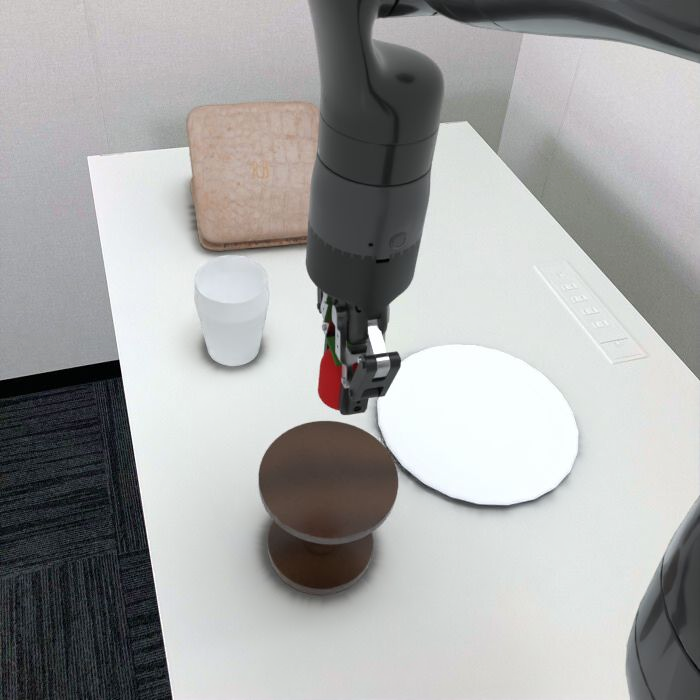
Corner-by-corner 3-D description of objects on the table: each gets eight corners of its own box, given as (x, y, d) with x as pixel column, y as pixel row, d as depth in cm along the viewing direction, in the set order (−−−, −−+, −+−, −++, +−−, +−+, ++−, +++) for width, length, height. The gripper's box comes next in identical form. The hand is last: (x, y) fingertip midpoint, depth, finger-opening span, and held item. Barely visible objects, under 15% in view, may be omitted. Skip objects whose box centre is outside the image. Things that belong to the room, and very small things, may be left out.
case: (200, 257, 108) (193, 162, 96) (187, 177, 122) (180, 85, 110) (336, 247, 112) (345, 155, 101) (309, 170, 126) (314, 81, 115)
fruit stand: (397, 588, 75) (417, 522, 66) (272, 618, 72) (274, 552, 62) (361, 483, 83) (374, 411, 74) (247, 504, 80) (246, 432, 71)
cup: (251, 382, 92) (250, 313, 84) (185, 361, 94) (178, 291, 85) (279, 335, 98) (281, 266, 90) (217, 316, 100) (213, 246, 91)
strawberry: (375, 406, 59) (383, 363, 56) (325, 415, 58) (329, 371, 55) (360, 369, 62) (367, 325, 58) (312, 376, 61) (315, 332, 57)
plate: (397, 519, 81) (399, 513, 80) (360, 353, 97) (361, 347, 97) (608, 500, 85) (612, 494, 84) (537, 344, 102) (540, 338, 101)
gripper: (285, 160, 51) (280, 333, 64) (340, 295, 42) (321, 467, 54) (387, 152, 53) (362, 322, 66) (460, 280, 44) (416, 450, 56)
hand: (344, 387), depth 60 cm, fingers closed on strawberry, 4 cm apart
